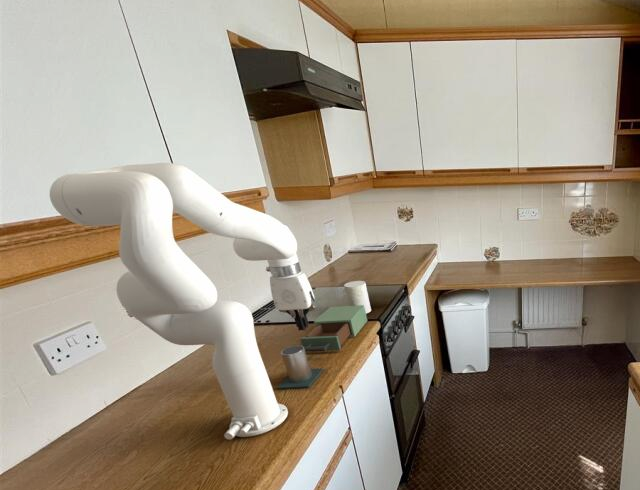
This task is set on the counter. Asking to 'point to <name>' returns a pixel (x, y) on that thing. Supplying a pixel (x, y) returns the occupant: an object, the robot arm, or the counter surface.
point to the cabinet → (345, 317)
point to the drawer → (326, 337)
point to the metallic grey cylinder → (296, 363)
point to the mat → (304, 384)
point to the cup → (357, 294)
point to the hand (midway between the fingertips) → (303, 328)
